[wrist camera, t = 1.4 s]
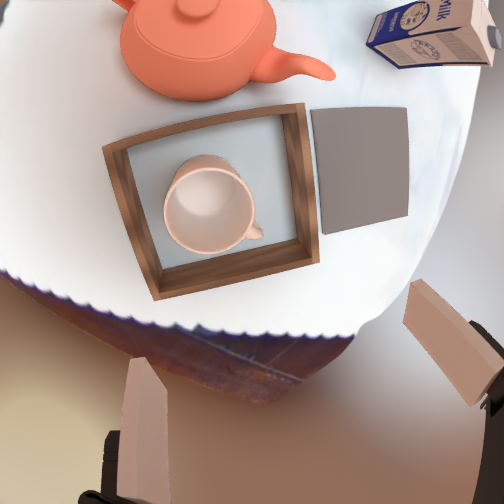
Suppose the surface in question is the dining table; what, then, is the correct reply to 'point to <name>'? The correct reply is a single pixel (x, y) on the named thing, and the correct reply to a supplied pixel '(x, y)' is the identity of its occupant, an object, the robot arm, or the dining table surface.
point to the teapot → (207, 47)
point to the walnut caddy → (229, 265)
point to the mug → (209, 206)
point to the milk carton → (436, 34)
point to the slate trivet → (361, 165)
